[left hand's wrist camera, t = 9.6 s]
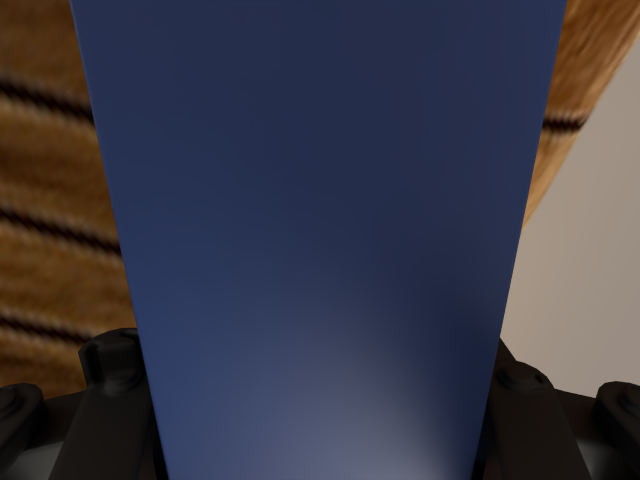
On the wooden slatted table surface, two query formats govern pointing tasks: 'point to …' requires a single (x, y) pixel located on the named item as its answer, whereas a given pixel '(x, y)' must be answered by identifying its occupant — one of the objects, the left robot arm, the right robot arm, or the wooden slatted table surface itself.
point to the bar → (318, 220)
